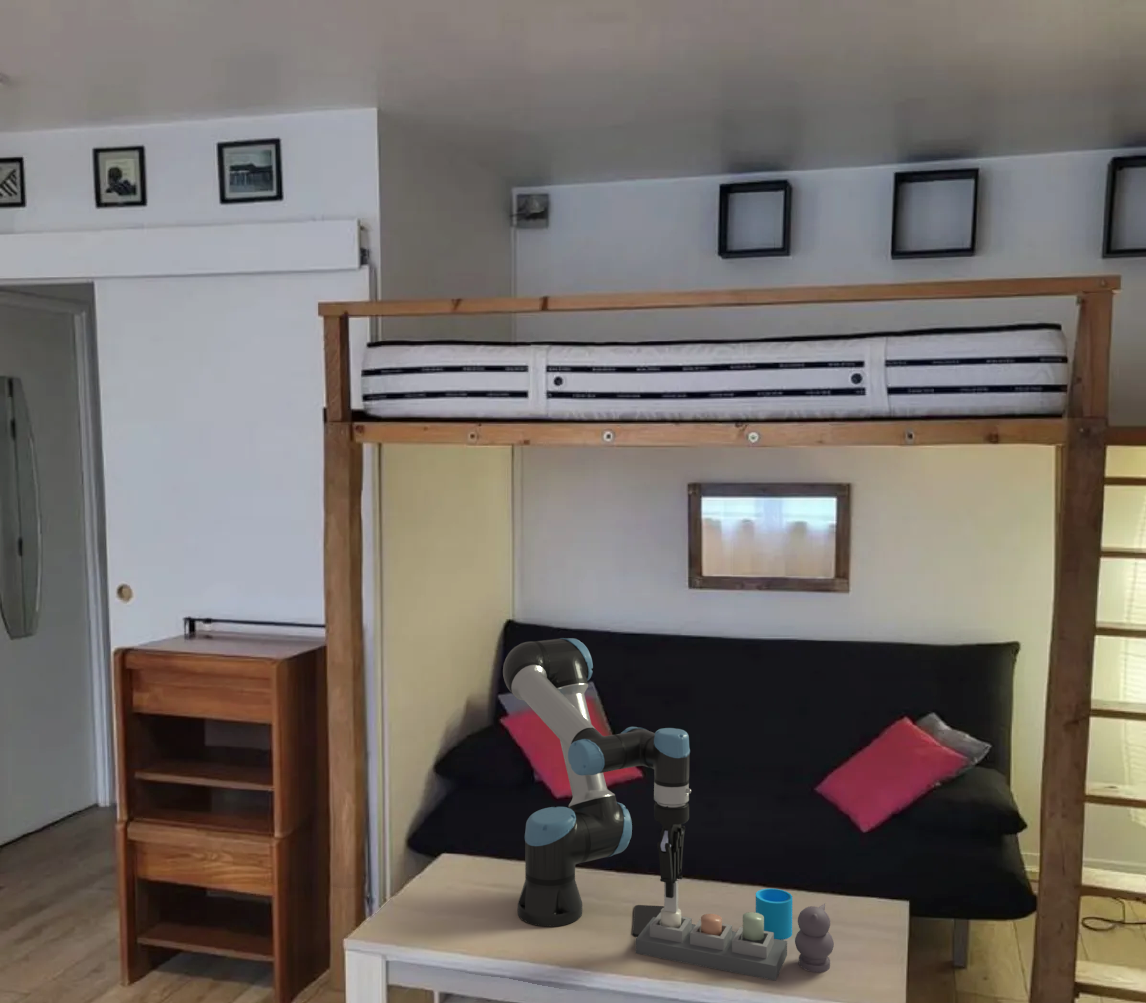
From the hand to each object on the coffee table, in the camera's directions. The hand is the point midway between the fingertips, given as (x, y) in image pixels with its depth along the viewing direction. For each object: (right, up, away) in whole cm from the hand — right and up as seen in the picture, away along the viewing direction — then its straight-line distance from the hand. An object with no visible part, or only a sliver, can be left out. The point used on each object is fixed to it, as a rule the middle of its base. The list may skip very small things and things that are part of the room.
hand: (671, 910), depth 217 cm
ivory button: (0, -4, 0) cm, 4 cm away
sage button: (+17, -3, -7) cm, 18 cm away
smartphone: (-3, -8, +12) cm, 15 cm away
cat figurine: (+29, -8, -8) cm, 31 cm away
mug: (+24, -8, +9) cm, 27 cm away
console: (+8, -8, -3) cm, 12 cm away
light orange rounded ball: (+8, -4, -3) cm, 10 cm away
